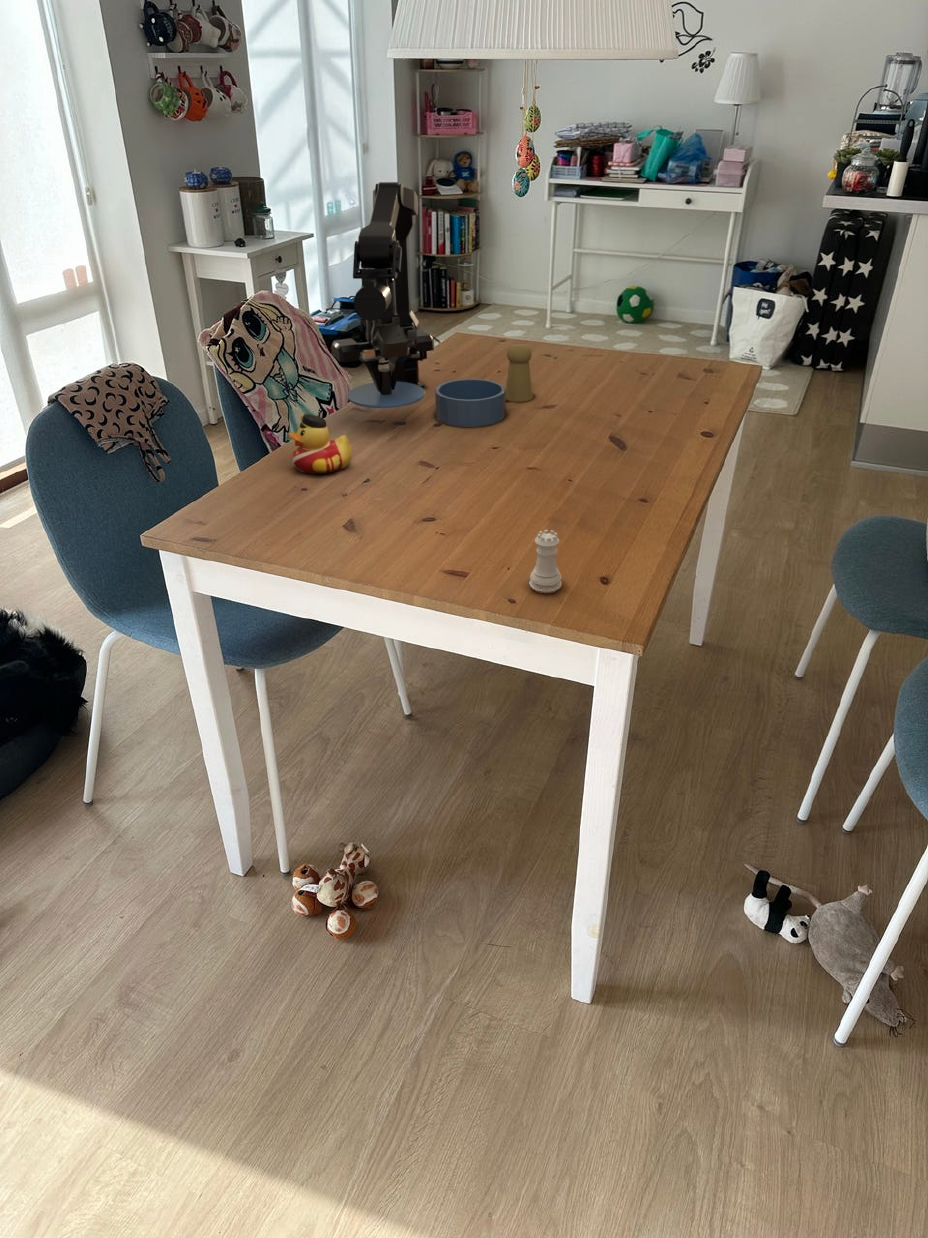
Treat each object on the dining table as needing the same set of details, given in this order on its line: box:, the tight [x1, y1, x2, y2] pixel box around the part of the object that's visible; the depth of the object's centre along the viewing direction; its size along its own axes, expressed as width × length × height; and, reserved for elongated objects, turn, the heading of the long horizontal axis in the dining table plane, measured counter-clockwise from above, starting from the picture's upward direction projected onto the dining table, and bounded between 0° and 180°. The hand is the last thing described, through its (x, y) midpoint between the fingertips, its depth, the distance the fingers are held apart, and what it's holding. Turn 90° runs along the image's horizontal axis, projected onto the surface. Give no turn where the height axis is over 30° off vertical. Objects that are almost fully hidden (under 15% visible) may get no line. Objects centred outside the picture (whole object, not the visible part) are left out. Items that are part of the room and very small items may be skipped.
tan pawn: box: [505, 343, 534, 403], centre depth 186 cm, size 6×6×11 cm
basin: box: [434, 378, 506, 428], centre depth 178 cm, size 14×14×5 cm
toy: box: [288, 413, 353, 475], centre depth 154 cm, size 9×11×10 cm
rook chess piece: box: [528, 529, 563, 594], centre depth 118 cm, size 4×4×8 cm
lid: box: [346, 367, 426, 409], centre depth 170 cm, size 15×15×6 cm
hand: (385, 390), depth 171 cm, fingers closed on lid, 2 cm apart
